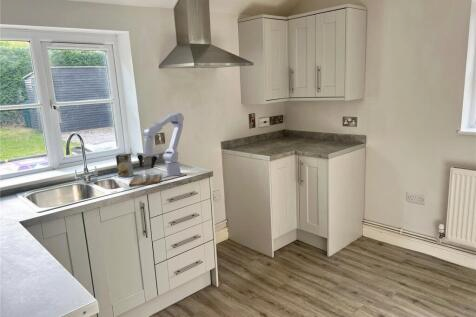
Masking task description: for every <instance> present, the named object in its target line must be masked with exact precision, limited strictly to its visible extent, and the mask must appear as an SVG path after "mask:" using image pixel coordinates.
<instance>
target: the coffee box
mask: <svg viewBox="0 0 476 317" xmlns="http://www.w3.org/2000/svg"><path fill="white" fill-rule="evenodd" d="M115 160H116V161H115V162H116V166H117V174H118V178H129V177H128V176H131V177H132V176H133V175H134V169H133V163H132V155H131V153H118V154H117V155H115Z"/></svg>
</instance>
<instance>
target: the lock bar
mask: <svg viewBox="0 0 476 317" xmlns="http://www.w3.org/2000/svg"><path fill="white" fill-rule="evenodd" d="M148 175H149V174H148V173H145V174H143V176H144V177H143V182H146V181H147V178H148Z"/></svg>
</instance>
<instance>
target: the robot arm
mask: <svg viewBox="0 0 476 317" xmlns="http://www.w3.org/2000/svg"><path fill="white" fill-rule="evenodd" d="M184 119H185V117H184V115H183V114H182V113H181V112H171V113H168V114H167V115H166V117H164V118H163V119H162V120H161V121H159V122H158V121H157V122H154V123H153V124H152V125H151V126H149V127H148V128H145V129H144V130H143V131H142V132H143V133H142V135H143V138H144V140H143V152H136V156H137V160H138V162H139V168H143V161H144V157H147V156H148V157H150V158H151V165H150V167H151V169H153V168H154V167H155V164H156V162H157V160H158V158H159V157H160V154H157V153H153V150H154V149H153V148H154V138H155V137H156V136H157V134H158V133H159V132H161V131H162V130H163V127H164V126H166V125H167V124H169V123H171V125H173V128H174V129H173V132H172V135H171V138H170V142H169V146H168V148H167V149H166V150H165V152H164V153H163V154H162V160H163V161H164V163H165V166H166V168H165V169H166V177H173V176H179V175H180V176H181V172H182V171H181V167H180V166H181V165H180V161H178V159H179V151H177V150H178V145H179V143H180V139H181V135H182V132H183V126H184Z"/></svg>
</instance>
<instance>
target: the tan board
mask: <svg viewBox="0 0 476 317" xmlns="http://www.w3.org/2000/svg"><path fill="white" fill-rule="evenodd" d="M148 176H150V178H149V179H147V181H146V182H143V177H144V175H138V176H133V177H132V179H131V180H130V181H129V183H128V187H129V186H130V187H137V186H136V185H139V186H145V185H146V186H147V185H155V184H159V183H160V181H161V177H162V174H161V173H159V174H158V173H157V174H148Z"/></svg>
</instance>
